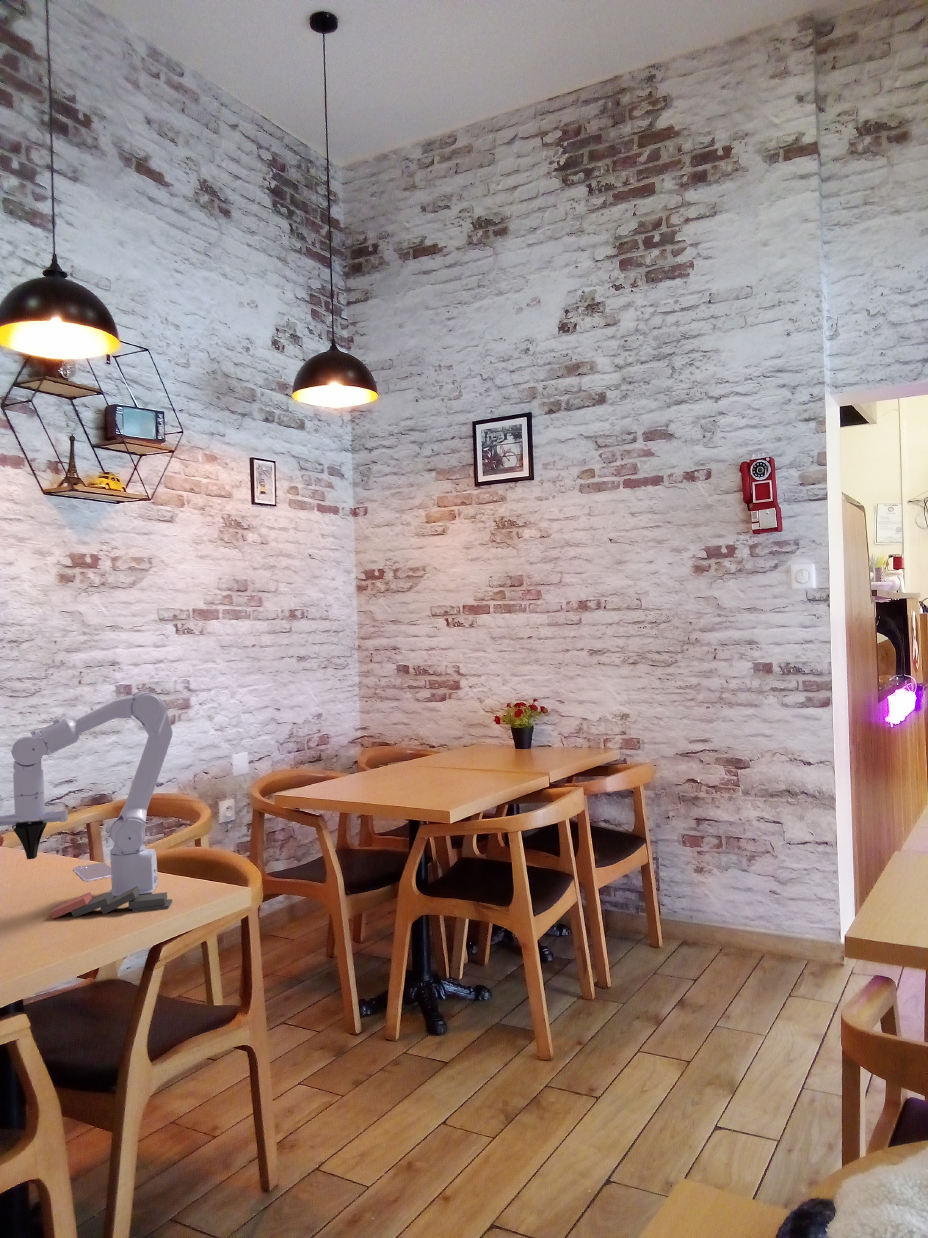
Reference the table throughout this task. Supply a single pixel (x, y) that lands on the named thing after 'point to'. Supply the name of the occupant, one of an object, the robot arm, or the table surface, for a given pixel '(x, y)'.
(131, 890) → the domino
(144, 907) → the domino
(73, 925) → the table surface
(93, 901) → the domino
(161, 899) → the domino
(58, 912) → the red domino
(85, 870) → the mobile phone
